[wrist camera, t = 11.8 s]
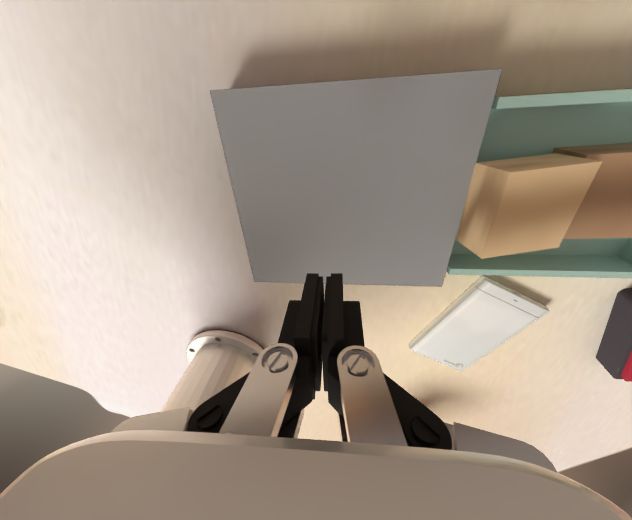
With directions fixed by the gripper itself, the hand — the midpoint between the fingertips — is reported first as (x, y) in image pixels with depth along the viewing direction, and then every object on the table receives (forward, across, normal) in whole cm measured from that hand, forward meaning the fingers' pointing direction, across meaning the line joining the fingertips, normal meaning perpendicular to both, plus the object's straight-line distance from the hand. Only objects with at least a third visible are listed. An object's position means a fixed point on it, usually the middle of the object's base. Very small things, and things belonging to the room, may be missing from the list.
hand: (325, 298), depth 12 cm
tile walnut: (+12, -19, -2) cm, 23 cm away
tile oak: (+10, -13, -2) cm, 17 cm away
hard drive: (+14, -16, +14) cm, 26 cm away
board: (+13, -1, -2) cm, 13 cm away
